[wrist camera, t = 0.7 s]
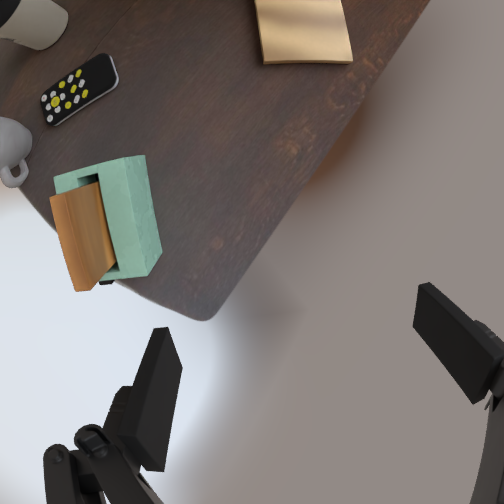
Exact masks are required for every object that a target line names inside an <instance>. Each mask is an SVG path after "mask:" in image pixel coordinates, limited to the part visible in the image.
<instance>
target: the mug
mask: <svg viewBox="0 0 504 504" xmlns="http://www.w3.org/2000/svg"><path fill="white" fill-rule="evenodd" d="M31 148H32V135H31V132H30V131H29V130H28V129H27V128H25V127H24V126H23V125H22V124H20V123H19V122H17V121H15V120H13V119H10V118H6V117H0V178H1V180H2V182H3V184H4V185H5V186H7V187H9V188H16V187H19V186H21V185H22V183H23V182H24V181H25V179H26V178H27V176H28V172H29V170H28V167H27V164H26V161H25V159H24V158H26V157H27V156H28V154H29V153H30V151H31ZM18 164H19V166H20V169H21V175H20V176H19V177H16V178H15V177H13V176H12V174H11V172H10V169H12V168H14V167H15V166H16V165H18Z"/></svg>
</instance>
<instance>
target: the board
mask: <svg viewBox="0 0 504 504" xmlns="http://www.w3.org/2000/svg"><path fill="white" fill-rule="evenodd" d="M254 3H255V10H256V16H257V23H258V29H259V36H260V43H261V50H262V57H263V64H280V63H340V64H350V63H352V62H353V58H352V52H351V47H350V41H349V36H348V31H347V26H346V22H345V17H344V13H343V9H342V4H341V0H254Z"/></svg>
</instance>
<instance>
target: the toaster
mask: <svg viewBox="0 0 504 504" xmlns="http://www.w3.org/2000/svg"><path fill="white" fill-rule="evenodd" d="M95 181H99V182H100V187H101V193H102V198H103V203H104V208H105V213H106V217H107V222H108V226H109V230H110V235H111V239H112V243H113V247H114V251H115V255H116V258H117V261H116V262H115V263H114V265H113V266H112V267H111V268H110V269H109V270H108V271H107V272H106V273H105V274H104V276H103V277H102V278H101V279H100V280H99V284H100V285H107V284H112V283H113V282H114V281H115V279H124V278H133V277H142V276H148V274H149V273H150V271H151V270H152V268H153V267H154V265H155V263H156V262H157V260H158V259H159V257H160V256H161V254H162V248H161V243H160V238H159V233H158V229H157V224H156V219H155V213H154V208H153V203H152V197H151V191H150V186H149V180H148V173H147V167H146V161H145V155H139V156H131V157H124V158H120V159H115V160H111V161H107V162H104V163H100V164H96V165H92V166H89V167H85V168H82V169H78V170H75V171H71V172H68V173H65V174H61V175H58V176H55V177H54V183H55V189H56V194H60V193H63V192H65V191H68V190H71V189H74V188H77V187H80V186H83V185H86V184H89V183H92V182H95Z"/></svg>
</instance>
